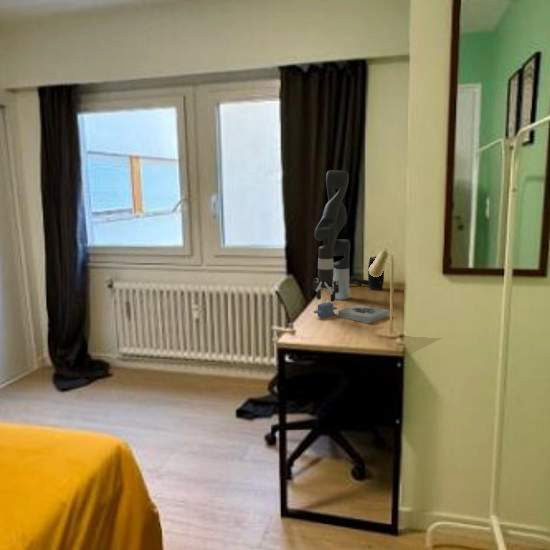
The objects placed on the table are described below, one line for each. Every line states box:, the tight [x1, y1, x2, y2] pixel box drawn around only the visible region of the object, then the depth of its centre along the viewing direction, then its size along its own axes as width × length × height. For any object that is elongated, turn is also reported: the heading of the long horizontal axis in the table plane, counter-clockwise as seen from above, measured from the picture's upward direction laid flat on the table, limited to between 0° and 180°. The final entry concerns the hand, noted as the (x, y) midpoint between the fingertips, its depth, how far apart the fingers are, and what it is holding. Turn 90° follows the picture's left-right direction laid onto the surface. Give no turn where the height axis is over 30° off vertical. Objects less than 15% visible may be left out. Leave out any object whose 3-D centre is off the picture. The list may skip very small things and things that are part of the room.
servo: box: [313, 300, 338, 319], centre depth 246 cm, size 4×13×7 cm, turn 135°
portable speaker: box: [367, 256, 385, 291], centre depth 302 cm, size 9×9×20 cm
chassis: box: [337, 304, 390, 324], centre depth 244 cm, size 18×17×3 cm
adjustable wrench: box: [349, 276, 369, 287], centre depth 313 cm, size 8×3×25 cm
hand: (325, 300), depth 245 cm, fingers open, 8 cm apart
